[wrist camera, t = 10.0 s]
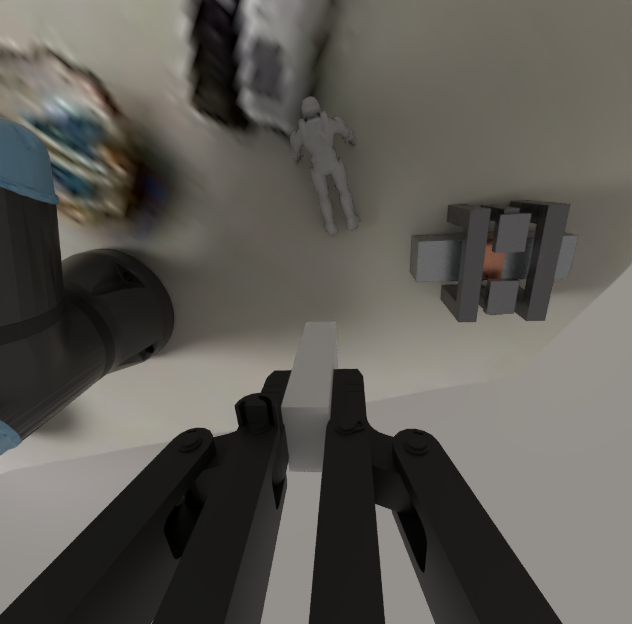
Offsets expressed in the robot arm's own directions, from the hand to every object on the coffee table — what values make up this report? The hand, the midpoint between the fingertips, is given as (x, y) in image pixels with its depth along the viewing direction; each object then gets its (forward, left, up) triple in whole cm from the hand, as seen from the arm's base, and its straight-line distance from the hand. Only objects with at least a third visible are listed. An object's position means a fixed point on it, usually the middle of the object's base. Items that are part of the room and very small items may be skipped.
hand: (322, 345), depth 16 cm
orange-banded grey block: (+15, 0, -21) cm, 26 cm away
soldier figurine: (-1, +9, -21) cm, 23 cm away
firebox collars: (+15, 0, -21) cm, 26 cm away
